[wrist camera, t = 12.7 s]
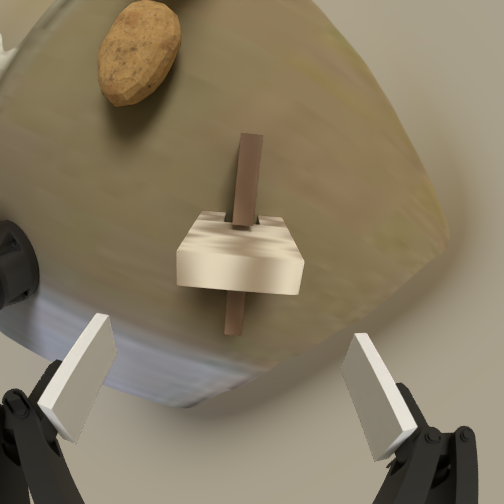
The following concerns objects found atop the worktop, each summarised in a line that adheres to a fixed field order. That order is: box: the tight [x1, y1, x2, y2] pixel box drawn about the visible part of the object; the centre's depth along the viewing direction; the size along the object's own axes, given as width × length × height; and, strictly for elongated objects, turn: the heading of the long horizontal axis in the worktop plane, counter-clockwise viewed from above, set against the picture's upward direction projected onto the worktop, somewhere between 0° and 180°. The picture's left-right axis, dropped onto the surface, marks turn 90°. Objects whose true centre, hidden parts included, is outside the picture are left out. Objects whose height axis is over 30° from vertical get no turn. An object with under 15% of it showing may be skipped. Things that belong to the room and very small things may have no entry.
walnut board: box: [224, 133, 263, 336], centre depth 31 cm, size 2×22×8 cm, turn 174°
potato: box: [97, 0, 181, 107], centre depth 22 cm, size 10×14×8 cm
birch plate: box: [177, 211, 304, 295], centre depth 28 cm, size 10×3×14 cm, turn 84°
